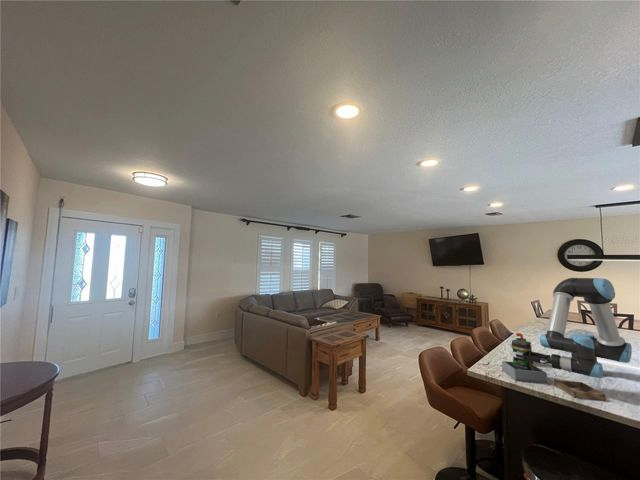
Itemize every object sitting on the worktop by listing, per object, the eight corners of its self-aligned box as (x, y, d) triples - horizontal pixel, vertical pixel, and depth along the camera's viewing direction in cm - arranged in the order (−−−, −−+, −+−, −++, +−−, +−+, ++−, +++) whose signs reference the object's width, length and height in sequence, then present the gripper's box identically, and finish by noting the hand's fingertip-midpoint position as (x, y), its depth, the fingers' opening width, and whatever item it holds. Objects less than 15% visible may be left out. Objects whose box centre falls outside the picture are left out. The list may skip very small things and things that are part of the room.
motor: (537, 366, 173) (534, 335, 176) (522, 364, 175) (519, 334, 178) (528, 361, 183) (525, 332, 186) (514, 360, 185) (511, 331, 187)
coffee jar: (511, 371, 156) (508, 339, 159) (516, 368, 161) (513, 338, 163) (530, 376, 148) (528, 343, 151) (535, 373, 153) (532, 341, 155)
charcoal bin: (531, 373, 160) (530, 363, 161) (547, 383, 145) (546, 372, 146) (502, 370, 164) (501, 360, 164) (515, 380, 148) (514, 369, 149)
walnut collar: (582, 387, 140) (581, 382, 140) (606, 401, 125) (605, 394, 126) (554, 385, 143) (554, 379, 143) (574, 397, 128) (574, 391, 129)
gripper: (558, 374, 135) (507, 361, 153) (566, 365, 147) (518, 355, 165) (556, 359, 136) (506, 348, 154) (564, 352, 148) (517, 343, 166)
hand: (512, 352), depth 160 cm, fingers closed on coffee jar, 8 cm apart
